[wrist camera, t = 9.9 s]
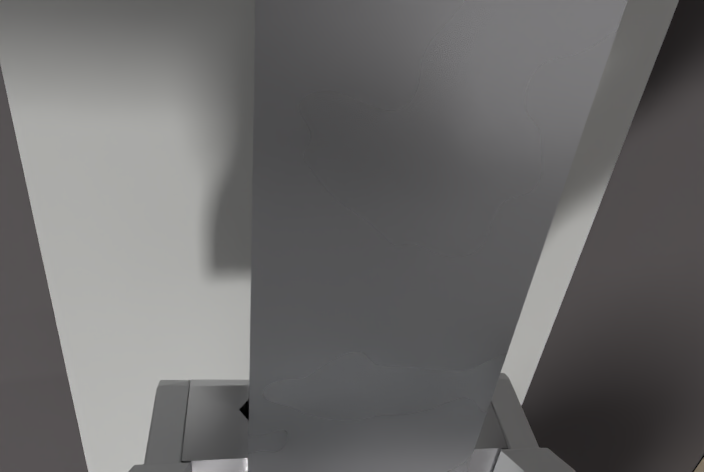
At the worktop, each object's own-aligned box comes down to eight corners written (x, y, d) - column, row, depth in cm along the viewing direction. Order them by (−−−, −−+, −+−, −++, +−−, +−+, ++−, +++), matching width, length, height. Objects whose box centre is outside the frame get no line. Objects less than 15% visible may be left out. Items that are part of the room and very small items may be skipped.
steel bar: (245, 662, 18) (242, 797, 16) (266, -740, 5) (275, -1310, 2) (347, 653, 19) (360, 782, 16) (638, -644, 5) (979, -1031, 3)
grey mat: (132, 629, 21) (128, 656, 20) (-210, -1118, 5) (-286, -1265, 4) (429, 605, 22) (434, 630, 21) (920, -756, 6) (996, -818, 6)
